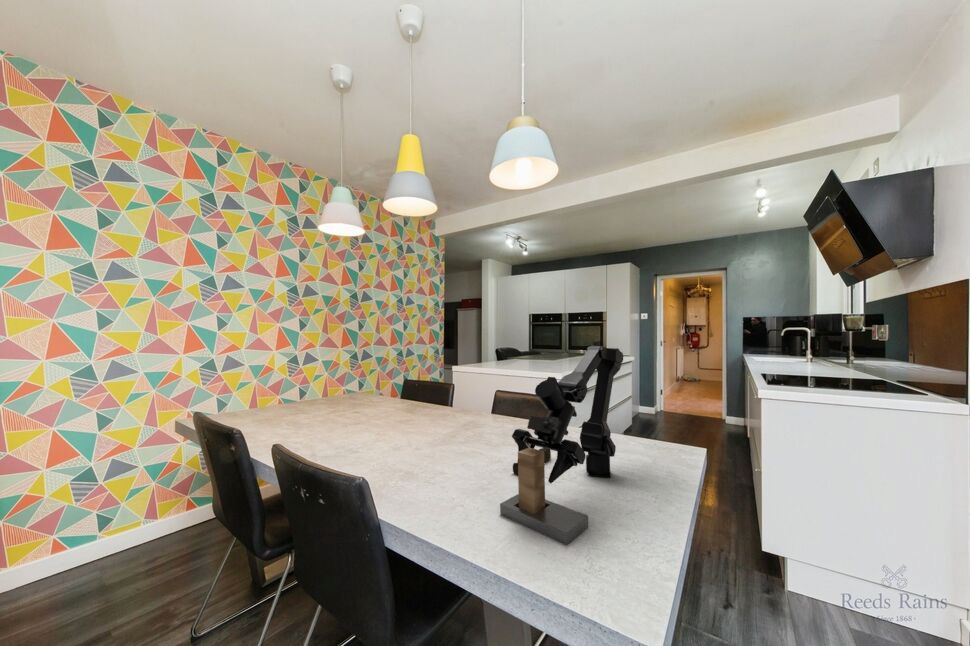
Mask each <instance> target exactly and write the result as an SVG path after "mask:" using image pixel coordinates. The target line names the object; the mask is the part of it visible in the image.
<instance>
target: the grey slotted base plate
mask: <svg viewBox="0 0 970 646" xmlns="http://www.w3.org/2000/svg"><path fill="white" fill-rule="evenodd" d="M499 511H500V512H499V515H501V516H503V517H506V518H507V519H510V520H511V521H514V522H516V523H518V524H521V525H522V526H525V527H527V528H529V529H531V530H532V531H533V530H534V531H535V532H538V533H540V534H541V535H545V536H546V537H549V538H550V539H553V540H555V541H557V542H559V543H562V544H563V545H566V546H568V545H569V544H571V543H572V542H573V541H574V540H575V539H576V538H577V537H579V536H580V535H581V534H582V533H584V532H585V531H586V530H587V529H588V528H589V515H587V514H585V513H583V512H580V511H577V510H575V509H572V508H569V507H567V506H564V505H561V504H559V503H555V502H553V501H550V500H548V499H546V498H545V509H543V510H542V511H540V512H538V513H537V514H535V515H534V514H532V513H530V512H527V511H525V510H523V509H520V508H519V493H518V494H516V495H514V496H511V497H510V498H508V499H506V500H505V501H503V502H501V503H500V504H499Z"/></svg>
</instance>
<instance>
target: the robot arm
mask: <svg viewBox="0 0 970 646" xmlns="http://www.w3.org/2000/svg"><path fill="white" fill-rule="evenodd" d="M623 362H624V353H623V352H622V351H621V350H620V348H618V347H617V348H616V347H615V348H614V347H605V346H602V345H590V346H588V347H587V348H586V351H585V354H584V355H583V356H582V358H581V359H580V360H579V362H578V363H577V365H576V367H574V369H573V371H572V372H571V373H569V374H566V375H564V376H563V377H562V378H561V379H560V380H559V381H558V380H557V378H556V377H555V376H554V377H553V376H548V377H547V379H546V380H542V381H541V382H539V384H537V385H536V387H535V390H534V393H535V395H536V396H537V398H538V400H540V402H541V404H542V405H543V406H544V407H545V409H546V410H547V411H549V412H548V414H547V416H542V417H540V416H536V415H529V418H528V423H527V429H528V430H525V429H521V428H515V429H514V431H513V433H512V435H511V437H512V439H513V440H514V442H515V444H516V445H517V448H518V451H517V453H518V452H519V451H522V450H524V449H527V448H533V449H535V448H536V447H539V448H541V449H542V448H546V449H550V451H554V452H556V460H555V462H554V465H553V466H552V468H551V471H550V473H549V477H548V481H547V482H548V483H549V484H553V483H554V482H555V481H556V480H557V479H558V478H559V477H561V476H562V475H564V473H565V472H568V470H569V469H571V468H572V467H577V466H578V465H584V463H585V465H586V466H585V468H586V469H585V470H586V472H587V476H588V477H597V478H607V479H608V478H609V479H611V478H612V475H611V457H615V454H616V450H617V447H616V445H615V443H614V442H613V440H612V438H611V433H612V431H611V429H610V428H609V425H608V416H609V408H610V402H611V395H612V388H613V383H614V376H616V375H617V373H618V372H619V371H620V370H621V367H622V363H623ZM595 372H597V375H596V376H597V377H596V382H595V388H594V393H593V400H592V404H591V405H592V406H591V412H590V417H589V419H587V420H586V421H583V422H582V424H581V431H580V433H579V434H580V435H579V442H578V441H574V440H570V439H566V438H565V439H564V437H565V436H568V434H569V431H568V427H569V424H570V422H571V420H572V417H576V418H577V417H578V414H577V411H576V407H575V406H574V405H573V404H572V403H578V404H581V403H583V401H584V400H585V398H586V396H587V393H588V389H589V388H588V383H589V381H590V379H591V378H592V376H593V374H594V373H595ZM529 430H532V431H534V432H533V433H534V435H535V436H537V437H534V436H533V435H532V434H531V433H530V431H529ZM586 453H587V454H586ZM516 463H517V472H518V461H516Z"/></svg>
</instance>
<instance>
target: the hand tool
mask: <svg viewBox="0 0 970 646" xmlns="http://www.w3.org/2000/svg"><path fill="white" fill-rule="evenodd" d="M538 450H540V451H544V463H546V462H547V463H548V462H549V461H550V460H551V459H552V454H551V453H552V452H551V451H552V450H550V449H546V448H542V447H541V448H539V449H538ZM547 463H546V464H547ZM512 472H513V474H514V475H515V474H516V476H518V472H517V462H513V464H512Z"/></svg>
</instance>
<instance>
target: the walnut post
mask: <svg viewBox="0 0 970 646" xmlns="http://www.w3.org/2000/svg"><path fill="white" fill-rule="evenodd" d="M517 462H518V475H517V476H518V481H517V482H518V494H519V508H520V509H523V510H525V511H527V512H530V513H532V514H534V515H535V514H537V513H538V512H540V511H542V510H543V509H545V499H546V484H545V483H546V480H545V479H546V478H545V476H546V475H545V464H544V451H540V450H539V449H536V448H534V449H533V448H527V449H524V450H522V451H519V452H518V451H517Z"/></svg>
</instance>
